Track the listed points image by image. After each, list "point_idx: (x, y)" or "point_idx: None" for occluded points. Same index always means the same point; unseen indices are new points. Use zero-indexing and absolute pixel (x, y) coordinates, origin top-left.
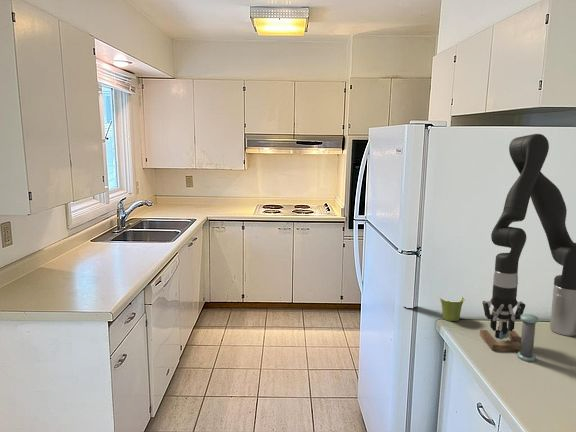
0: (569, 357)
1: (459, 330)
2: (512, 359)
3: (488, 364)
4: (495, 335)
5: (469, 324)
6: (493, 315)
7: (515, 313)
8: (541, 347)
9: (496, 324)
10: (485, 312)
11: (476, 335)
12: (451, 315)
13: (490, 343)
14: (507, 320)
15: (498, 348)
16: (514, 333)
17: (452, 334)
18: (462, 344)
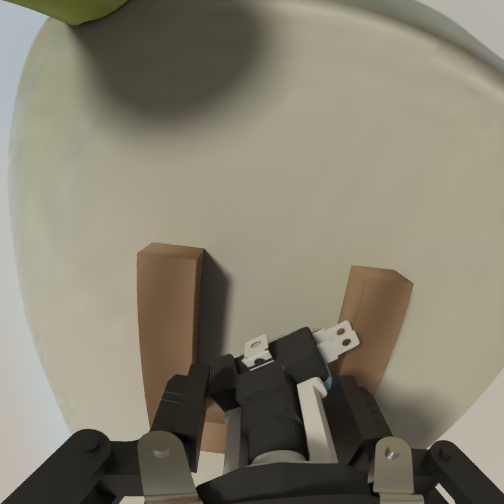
0: (432, 441)
1: (58, 159)
2: (219, 470)
3: None
4: (213, 371)
5: (167, 49)
6: (170, 476)
7: (443, 478)
8: (418, 394)
9: (199, 448)
10: (58, 472)
11: (130, 244)
12: (51, 14)
13: (150, 421)
14: (334, 451)
15: None
16: (382, 332)
17: (15, 222)
18: (43, 342)
